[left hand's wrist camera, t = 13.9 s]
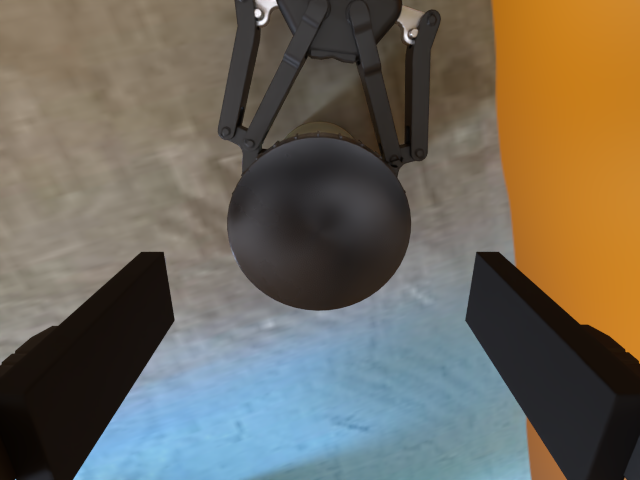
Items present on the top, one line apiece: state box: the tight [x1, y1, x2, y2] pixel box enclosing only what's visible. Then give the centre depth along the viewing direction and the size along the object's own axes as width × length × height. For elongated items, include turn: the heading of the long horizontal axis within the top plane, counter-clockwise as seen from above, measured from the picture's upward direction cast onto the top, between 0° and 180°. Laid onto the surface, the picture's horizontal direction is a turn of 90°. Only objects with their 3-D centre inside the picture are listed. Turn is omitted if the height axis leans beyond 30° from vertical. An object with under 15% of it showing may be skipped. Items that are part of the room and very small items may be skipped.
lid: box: [227, 131, 411, 311], centre depth 20 cm, size 9×9×2 cm
